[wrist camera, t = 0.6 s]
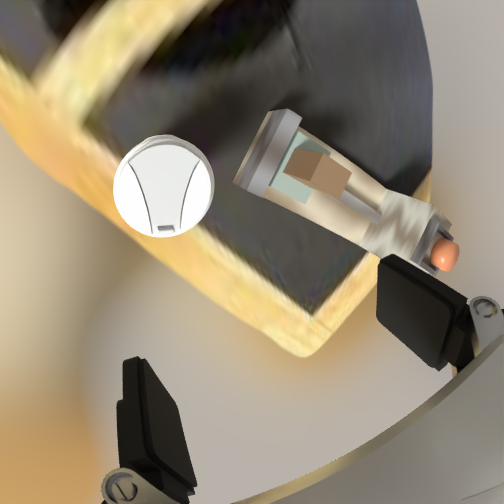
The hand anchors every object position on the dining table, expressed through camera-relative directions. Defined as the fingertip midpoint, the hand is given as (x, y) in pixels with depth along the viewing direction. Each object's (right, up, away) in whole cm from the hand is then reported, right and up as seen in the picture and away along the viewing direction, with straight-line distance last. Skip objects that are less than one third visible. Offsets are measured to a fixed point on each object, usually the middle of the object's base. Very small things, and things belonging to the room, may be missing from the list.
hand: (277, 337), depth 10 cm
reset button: (+24, +3, +24) cm, 34 cm away
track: (+11, +11, +30) cm, 34 cm away
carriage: (+4, +14, +25) cm, 28 cm away
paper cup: (-12, +13, +22) cm, 28 cm away
